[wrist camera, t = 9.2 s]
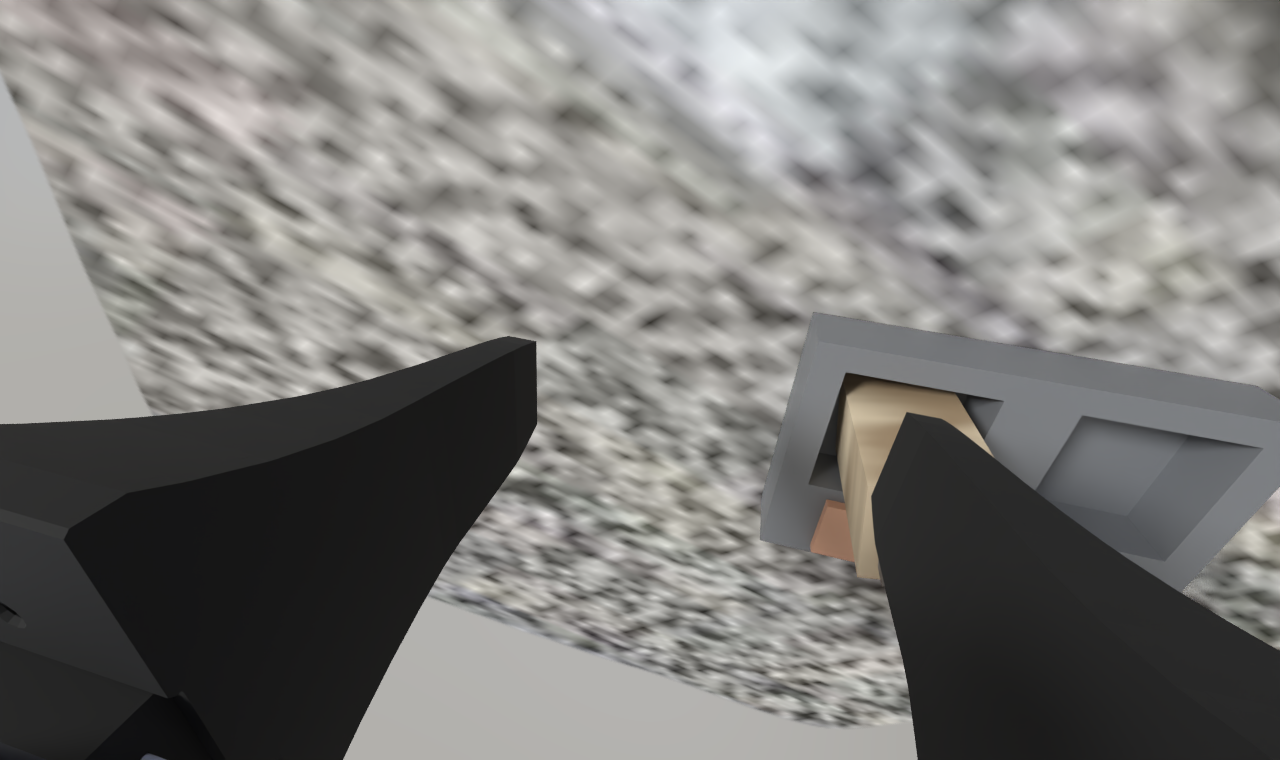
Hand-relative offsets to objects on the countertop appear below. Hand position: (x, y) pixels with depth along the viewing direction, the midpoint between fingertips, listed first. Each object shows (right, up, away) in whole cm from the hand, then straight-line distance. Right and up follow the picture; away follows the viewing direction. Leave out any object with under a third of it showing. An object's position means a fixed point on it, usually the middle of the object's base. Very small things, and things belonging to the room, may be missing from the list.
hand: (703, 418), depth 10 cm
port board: (+11, -2, +10) cm, 15 cm away
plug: (+8, 0, +9) cm, 12 cm away
